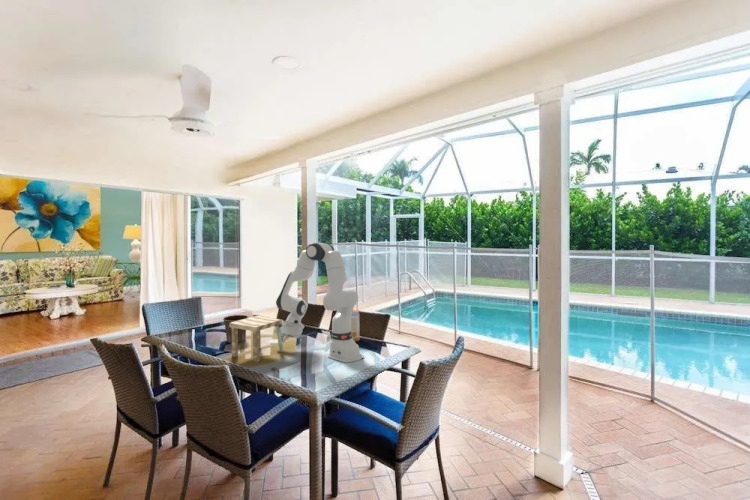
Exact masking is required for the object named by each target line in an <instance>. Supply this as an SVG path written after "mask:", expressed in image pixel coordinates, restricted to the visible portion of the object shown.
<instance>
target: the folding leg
mask: <svg viewBox="0 0 750 500" xmlns="http://www.w3.org/2000/svg"><path fill="white" fill-rule="evenodd" d="M276 329H277V334H276V335H277V343H278V350H279V351H280V352H282V351H283V350H284V346H283V342H282V337H281V328H280V327H279V325H276Z"/></svg>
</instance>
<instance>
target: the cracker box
mask: <svg viewBox="0 0 750 500" xmlns="http://www.w3.org/2000/svg"><path fill="white" fill-rule="evenodd" d="M360 327H361V326H360V310H359V309H353V311H352V315H351V322H350V331H351V333H352V334H353V335H352V339H353V340H354V341H355V342H359V341H360V334H361V333H360V329H361V328H360Z"/></svg>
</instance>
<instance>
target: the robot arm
mask: <svg viewBox="0 0 750 500" xmlns="http://www.w3.org/2000/svg"><path fill="white" fill-rule="evenodd" d="M321 261H322V262H324V263H325V269H326V275H327V282H328V283H327V285H328V286H327V289H326V290H327V291H326V293H325V295H324V297H323V299H322V304H323V307H324V308H325V310H327V311H333V312H334V311H336V313H335V315H333V317H332V320H331V322H332V323H331V329H332V330H331V341H330V346H329V354H328V355H327V357H328V358H329V359H332V360H335V361H340V362H341V363H342V362H343V363H352V362H358V361H360V360H363V359H364V357H365V355H363V354H362V353H360V352H361V350H360V346H359V344H357V343H356V341H354V340H353V339H352V335H353V334H352V333H351V331H350V322H351V315H352V311H353V310H354V309H355V306H356V305H357V304H358V302H359V295H358V292H356V291H355V290H353V289H344V284H345V283H346V281H347V276H346V275H347V274H346V268H345V265H344V260H343V257H342V254H341V253H340V251H338V250H335V248H334V246H333V245H331V244H329V243H324V242H312V243H309V244H308V245H307V247H306V248H305V250H302V251H301V252H300V254H299V257H298V260H297V263H296V266H295V268H294V270H293V271H290V272H289V274H288V275H287V277H286V279H285V282H284V283H283V286H282V288H281V291H280V293H279V294H278V297H277V298H276V301H275V305H276V307H277V309H279V310H282V311H285V312H289V314H288V316H287V318H286V319H285V320H283V324H282V327H280V328H281V337H282V343H286V341H287V340H288V339H289V338H294V339H299V338H300V337H301V336H302V333H303V329H304V328H305V325H304V324H303V323H302V319H303V317H304V316H305V314H306V312H307V310H308V306H309V305H308V301H307V300H305V299H302V298H297V297H294V296H291V295H290V291H291V288H292V286H293V284H294V283H295V282H302V281H304V282H305V281H307V280H309V279H310V278H311V277H312V276H313V273H314V269H315V265H316V263H317V262H321ZM273 333H274V334H275V335H277V329H276V327H275V326H274V329H273ZM362 358H363V359H362Z"/></svg>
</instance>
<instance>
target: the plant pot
mask: <svg viewBox="0 0 750 500" xmlns="http://www.w3.org/2000/svg"><path fill="white" fill-rule="evenodd" d="M247 318H249V316H248V315H246V314H235V315H228V316H225V317H223V318H222V320H223V325H224V329H225V334H226V342H227V343H230V344H232V328H231V327H229V323H231V322H235V321H239V320H243V319H247ZM246 334H247V330H243V329H238V343H242V342H244V341H246V336H247V335H246Z"/></svg>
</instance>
